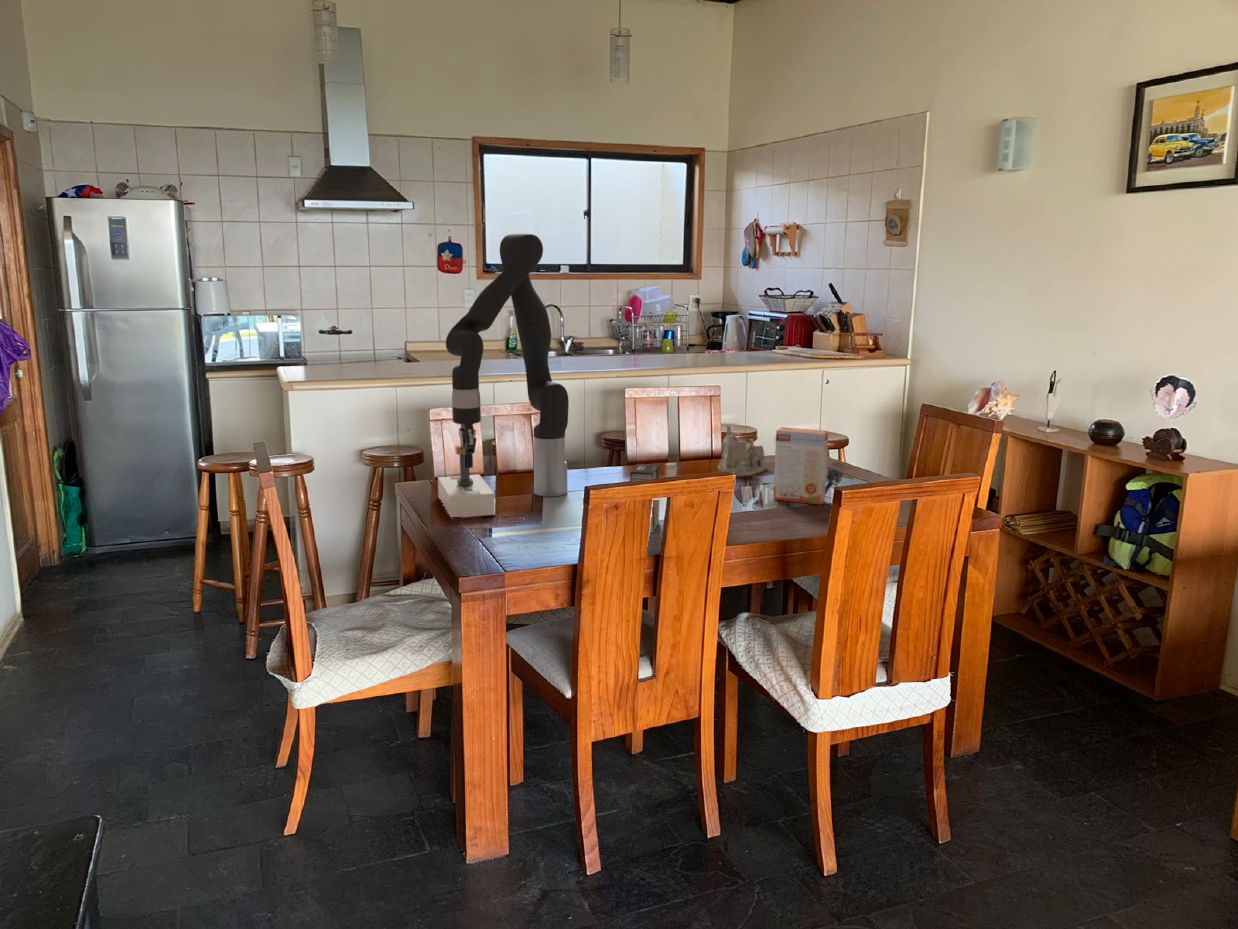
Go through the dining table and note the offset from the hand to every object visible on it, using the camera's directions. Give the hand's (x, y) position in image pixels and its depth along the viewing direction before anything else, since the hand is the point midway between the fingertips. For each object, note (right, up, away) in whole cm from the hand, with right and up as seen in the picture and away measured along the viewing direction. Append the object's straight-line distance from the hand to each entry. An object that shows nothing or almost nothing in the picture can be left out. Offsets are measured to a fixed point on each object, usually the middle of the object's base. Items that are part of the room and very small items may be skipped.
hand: (468, 467), depth 253 cm
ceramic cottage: (+82, -1, +51) cm, 96 cm away
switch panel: (-2, -11, +8) cm, 14 cm away
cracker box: (+93, -10, +16) cm, 95 cm away
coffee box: (+48, -16, -10) cm, 51 cm away
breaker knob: (-2, -5, +6) cm, 8 cm away
